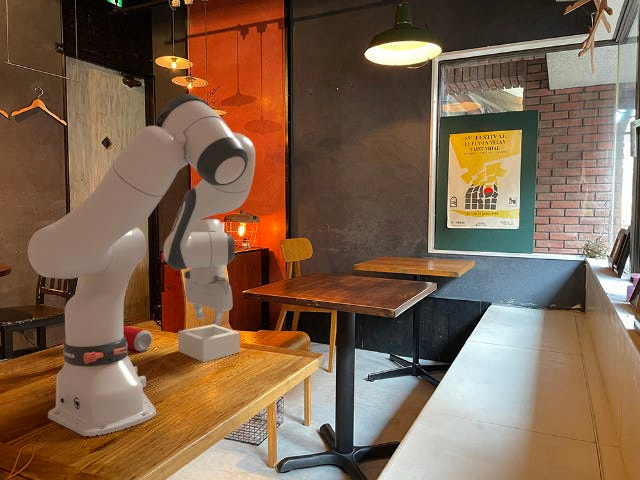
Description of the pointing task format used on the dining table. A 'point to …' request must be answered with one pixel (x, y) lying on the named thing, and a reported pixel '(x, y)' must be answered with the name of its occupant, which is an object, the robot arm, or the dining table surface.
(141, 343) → the beverage can
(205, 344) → the white square frame
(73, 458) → the dining table surface
